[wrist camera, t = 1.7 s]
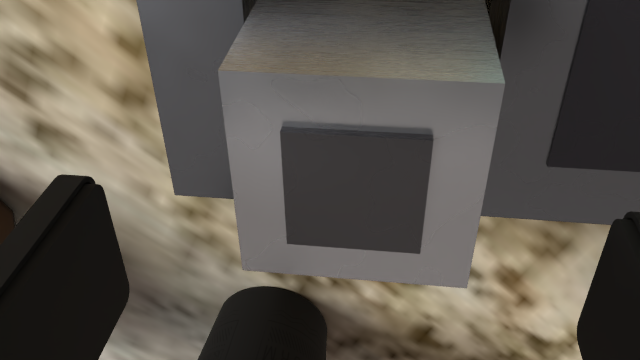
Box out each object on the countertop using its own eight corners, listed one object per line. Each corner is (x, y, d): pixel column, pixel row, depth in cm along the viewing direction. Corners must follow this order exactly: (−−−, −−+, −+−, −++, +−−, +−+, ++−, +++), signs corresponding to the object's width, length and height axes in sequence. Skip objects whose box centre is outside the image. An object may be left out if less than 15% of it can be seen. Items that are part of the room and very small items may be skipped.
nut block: (290, -59, 17) (214, 75, 11) (471, -55, 17) (506, 89, 10) (296, 97, 20) (240, 276, 14) (450, 105, 20) (467, 294, 13)
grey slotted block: (157, -139, 16) (112, -114, 14) (986, -132, 14) (1105, -101, 12) (200, 142, 22) (173, 196, 19) (807, 178, 20) (863, 244, 17)
